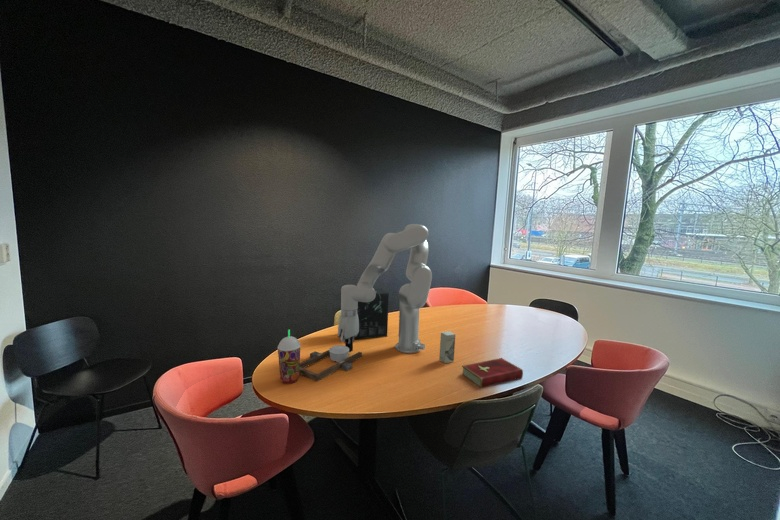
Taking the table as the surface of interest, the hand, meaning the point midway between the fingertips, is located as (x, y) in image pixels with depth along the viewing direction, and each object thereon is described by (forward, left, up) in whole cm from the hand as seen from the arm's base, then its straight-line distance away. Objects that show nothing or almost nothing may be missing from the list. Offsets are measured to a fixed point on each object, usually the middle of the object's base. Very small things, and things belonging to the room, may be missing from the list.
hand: (349, 350), depth 148 cm
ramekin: (0, +7, -2) cm, 7 cm away
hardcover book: (-61, -18, -2) cm, 63 cm away
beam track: (0, +12, -1) cm, 12 cm away
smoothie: (+2, +32, -2) cm, 32 cm away
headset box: (+9, -24, -2) cm, 25 cm away
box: (-40, -20, -2) cm, 45 cm away
